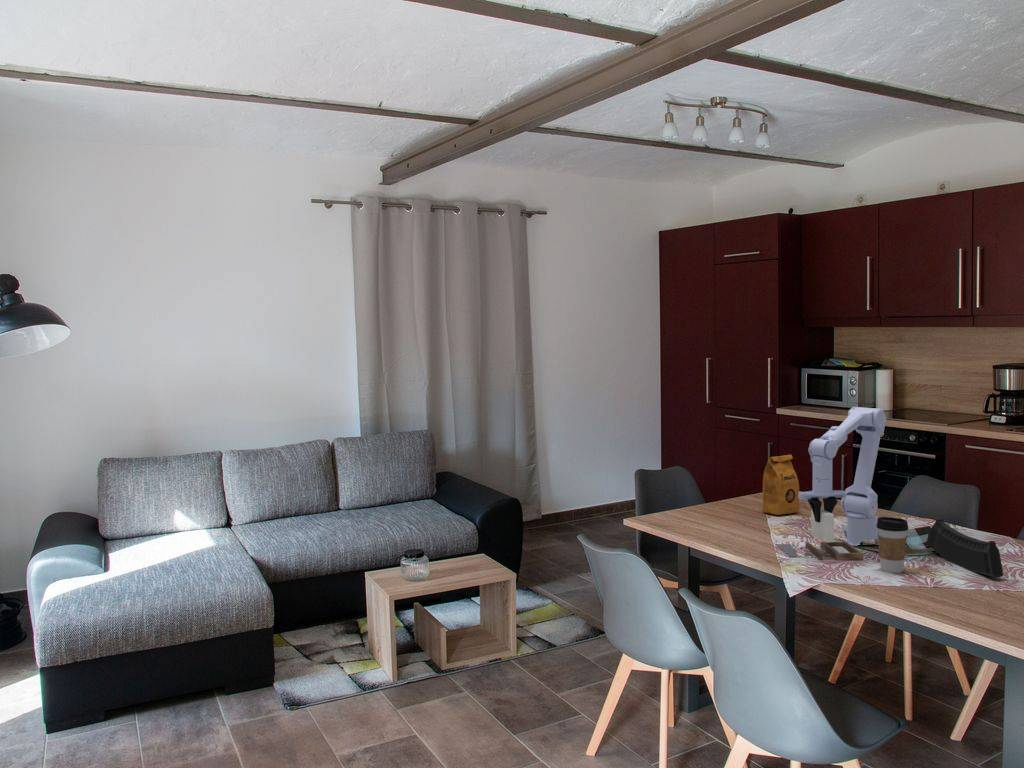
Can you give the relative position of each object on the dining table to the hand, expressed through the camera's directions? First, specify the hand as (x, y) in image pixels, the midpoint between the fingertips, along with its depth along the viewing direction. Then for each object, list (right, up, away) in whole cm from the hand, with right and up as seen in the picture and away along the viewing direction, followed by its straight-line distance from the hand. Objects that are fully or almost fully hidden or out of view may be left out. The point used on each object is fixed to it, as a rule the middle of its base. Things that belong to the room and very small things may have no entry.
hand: (822, 521), depth 253 cm
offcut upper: (+6, -10, +1) cm, 12 cm away
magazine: (+36, -11, -13) cm, 40 cm away
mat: (-7, -10, +5) cm, 13 cm away
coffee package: (+6, -6, +55) cm, 56 cm away
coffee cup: (+14, -11, -17) cm, 24 cm away
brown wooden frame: (+4, -10, +1) cm, 11 cm away
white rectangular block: (0, -5, 0) cm, 5 cm away
